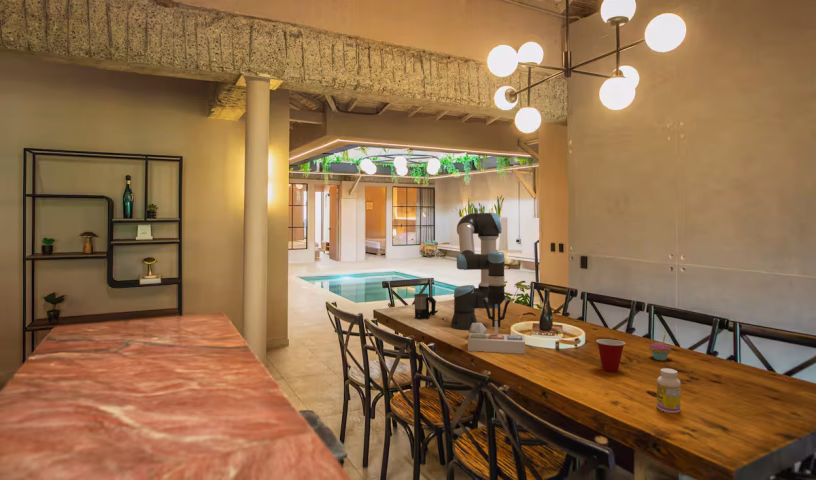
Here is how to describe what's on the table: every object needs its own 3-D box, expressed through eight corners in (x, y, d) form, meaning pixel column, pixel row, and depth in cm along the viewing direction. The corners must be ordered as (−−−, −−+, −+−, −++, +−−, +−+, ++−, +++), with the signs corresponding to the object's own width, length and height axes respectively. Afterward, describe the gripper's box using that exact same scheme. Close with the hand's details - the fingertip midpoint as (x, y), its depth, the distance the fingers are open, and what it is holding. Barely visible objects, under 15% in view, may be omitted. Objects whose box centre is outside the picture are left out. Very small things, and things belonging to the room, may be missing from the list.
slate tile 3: (508, 341, 219) (508, 334, 218) (521, 342, 217) (521, 334, 217) (508, 345, 213) (508, 337, 213) (521, 345, 211) (521, 337, 211)
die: (484, 342, 231) (491, 325, 234) (469, 334, 231) (476, 317, 234) (478, 343, 239) (485, 327, 242) (464, 335, 239) (471, 319, 242)
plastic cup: (623, 367, 189) (623, 338, 188) (626, 375, 179) (626, 345, 178) (595, 364, 193) (595, 336, 192) (596, 372, 182) (596, 343, 182)
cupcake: (670, 357, 201) (670, 330, 200) (672, 362, 193) (672, 335, 193) (648, 354, 205) (648, 328, 204) (649, 360, 197) (649, 333, 196)
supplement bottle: (654, 404, 152) (655, 366, 151) (677, 406, 150) (677, 368, 149) (659, 412, 145) (659, 373, 145) (682, 415, 143) (683, 374, 143)
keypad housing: (470, 343, 226) (469, 332, 225) (524, 346, 220) (524, 335, 220) (467, 351, 214) (467, 339, 214) (525, 353, 208) (525, 342, 208)
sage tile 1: (472, 340, 222) (472, 332, 222) (485, 340, 221) (485, 333, 221) (471, 343, 216) (471, 335, 216) (484, 344, 215) (484, 336, 215)
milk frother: (413, 319, 281) (412, 295, 280) (416, 314, 296) (416, 291, 296) (436, 320, 278) (435, 296, 278) (438, 314, 294) (438, 291, 293)
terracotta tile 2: (490, 340, 220) (490, 333, 220) (502, 341, 219) (502, 333, 219) (489, 344, 215) (489, 336, 214) (502, 344, 213) (502, 337, 213)
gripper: (481, 285, 213) (482, 335, 215) (510, 286, 210) (510, 336, 212) (482, 283, 221) (482, 331, 222) (510, 283, 218) (510, 332, 219)
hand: (496, 333), depth 217 cm, fingers closed
